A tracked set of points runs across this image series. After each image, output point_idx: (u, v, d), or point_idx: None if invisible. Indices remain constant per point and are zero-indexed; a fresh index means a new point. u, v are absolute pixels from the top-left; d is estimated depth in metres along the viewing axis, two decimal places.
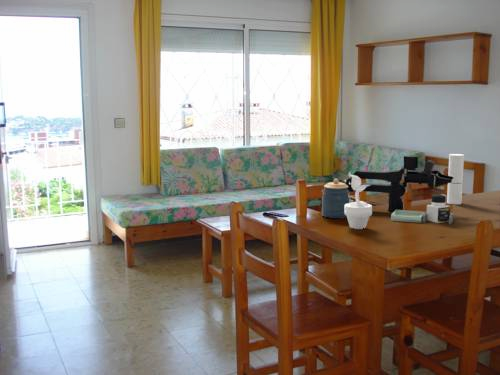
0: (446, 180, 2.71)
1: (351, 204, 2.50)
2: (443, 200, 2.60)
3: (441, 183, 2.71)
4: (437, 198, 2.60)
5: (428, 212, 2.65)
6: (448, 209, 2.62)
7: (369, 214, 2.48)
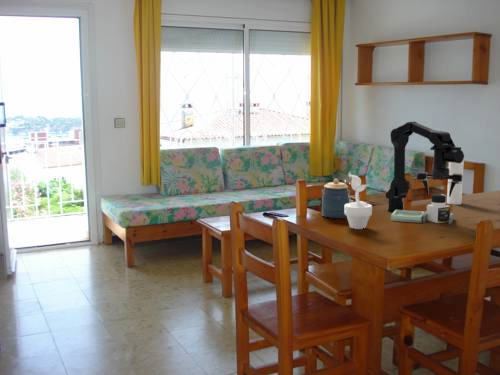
0: (426, 190, 2.64)
1: (351, 204, 2.50)
2: (443, 200, 2.60)
3: None
4: (437, 198, 2.60)
5: (428, 212, 2.65)
6: (448, 209, 2.62)
7: (369, 214, 2.48)
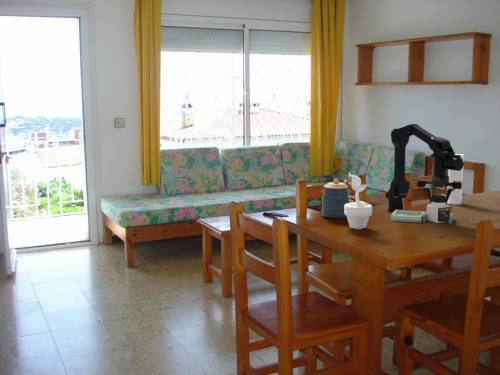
0: (429, 197, 2.64)
1: (351, 204, 2.50)
2: (443, 200, 2.60)
3: None
4: (437, 198, 2.60)
5: (428, 212, 2.65)
6: (448, 209, 2.62)
7: (369, 214, 2.48)
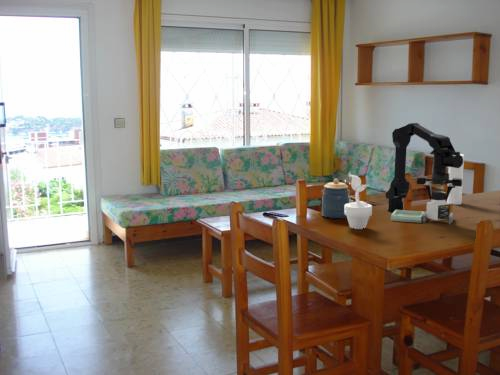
0: (429, 195, 2.62)
1: (351, 204, 2.50)
2: (443, 197, 2.58)
3: None
4: (437, 195, 2.58)
5: (428, 210, 2.63)
6: (448, 206, 2.60)
7: (369, 214, 2.48)
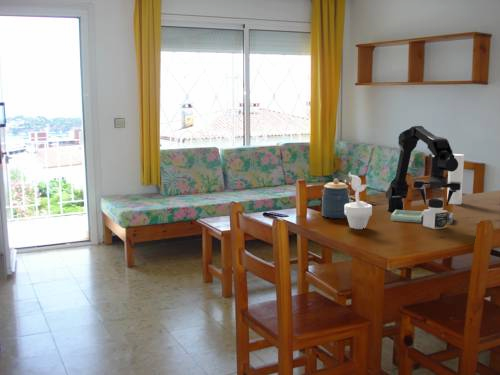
0: (423, 199, 2.54)
1: (351, 204, 2.50)
2: (440, 205, 2.50)
3: None
4: (434, 203, 2.49)
5: (424, 218, 2.54)
6: (446, 214, 2.51)
7: (369, 214, 2.48)
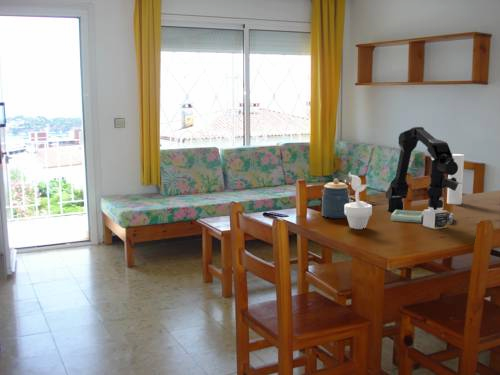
0: (435, 204, 2.48)
1: (351, 204, 2.50)
2: (440, 205, 2.50)
3: (432, 200, 2.48)
4: None
5: (424, 218, 2.54)
6: (446, 214, 2.51)
7: (369, 214, 2.48)
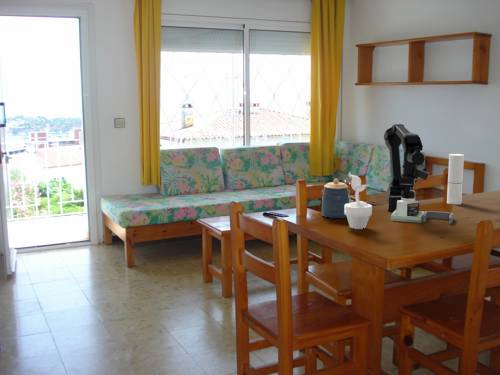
0: (407, 194, 2.62)
1: (351, 204, 2.50)
2: (412, 196, 2.65)
3: (404, 189, 2.62)
4: None
5: (398, 208, 2.69)
6: (417, 204, 2.67)
7: (369, 214, 2.48)
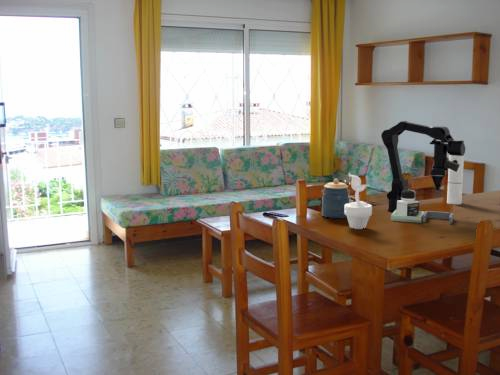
0: (438, 185, 2.67)
1: (351, 204, 2.50)
2: (412, 196, 2.65)
3: (435, 181, 2.66)
4: (406, 194, 2.65)
5: (398, 208, 2.69)
6: (417, 204, 2.67)
7: (369, 214, 2.48)
